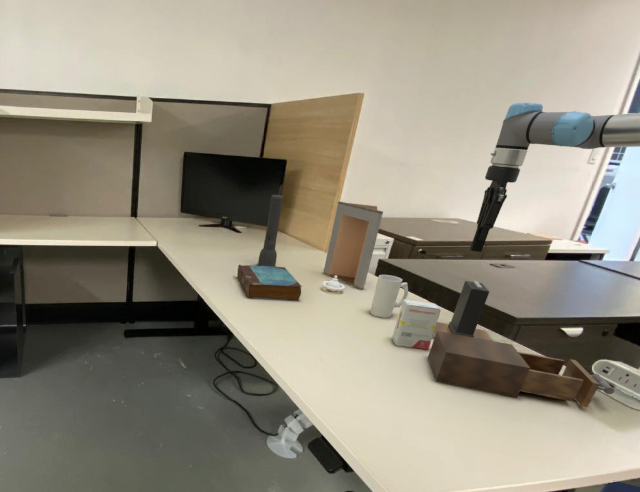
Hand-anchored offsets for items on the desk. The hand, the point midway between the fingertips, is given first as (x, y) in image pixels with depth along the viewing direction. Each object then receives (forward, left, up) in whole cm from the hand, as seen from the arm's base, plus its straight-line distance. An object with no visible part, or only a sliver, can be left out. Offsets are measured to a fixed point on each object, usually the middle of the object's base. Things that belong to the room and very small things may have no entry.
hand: (475, 250), depth 138 cm
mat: (0, +13, -22) cm, 26 cm away
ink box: (+15, +28, -23) cm, 39 cm away
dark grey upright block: (0, +13, -22) cm, 25 cm away
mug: (+20, +6, -23) cm, 31 cm away
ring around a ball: (+37, -11, -23) cm, 45 cm away
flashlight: (+64, -30, -23) cm, 74 cm away
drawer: (-13, +42, -22) cm, 49 cm away
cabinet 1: (+31, -29, -23) cm, 48 cm away
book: (+59, 0, -23) cm, 63 cm away
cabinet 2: (+3, +42, -22) cm, 48 cm away
